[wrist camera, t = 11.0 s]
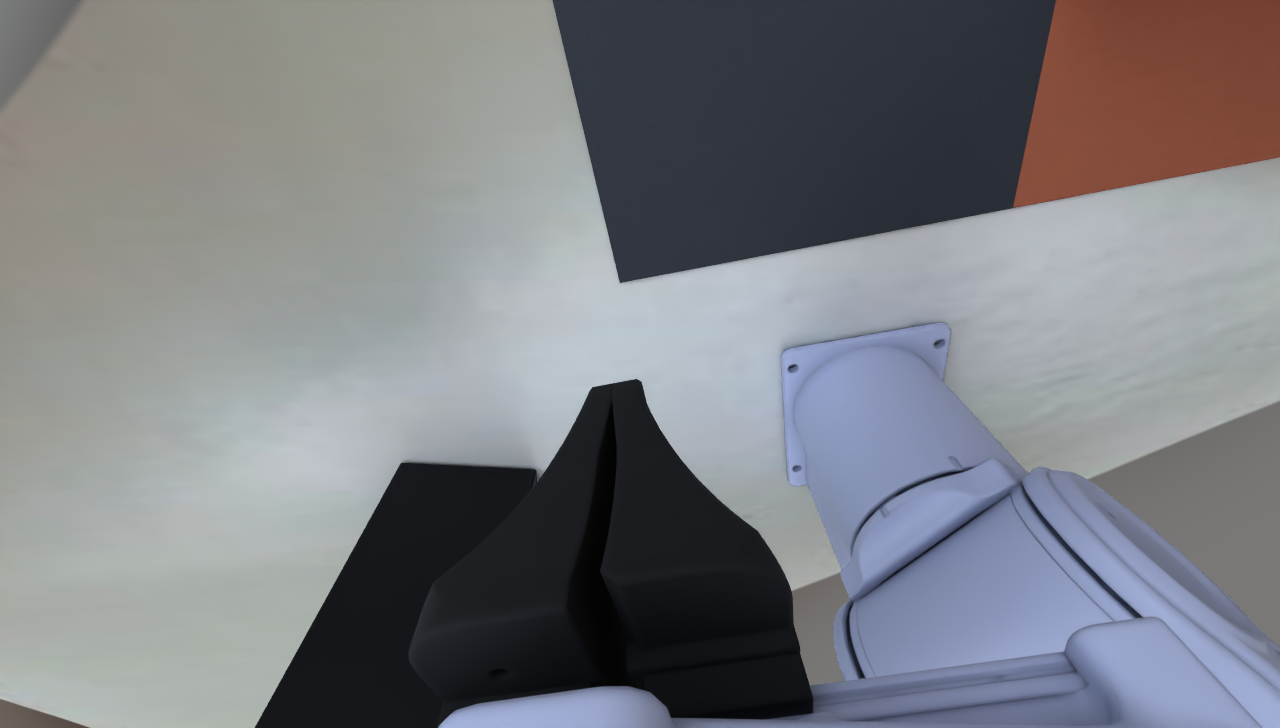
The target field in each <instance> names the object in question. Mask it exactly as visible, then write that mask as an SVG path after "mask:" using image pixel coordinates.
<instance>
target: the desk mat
mask: <svg viewBox="0 0 1280 728" xmlns="http://www.w3.org/2000/svg"><path fill="white" fill-rule="evenodd" d="M553 3H554V8H555V12H556V16H557V20H558V24H559V29H560V33H561V37H562V41H563V45H564V50H565V54H566V58H567V62H568V66H569V71H570V75H571V79H572V83H573V88H574V92H575V96H576V100H577V104H578V109H579V113H580V117H581V121H582V125H583V130H584V134H585V138H586V142H587V146H588V151H589V155H590V159H591V163H592V167H593V172H594V176H595V180H596V184H597V188H598V193H599V197H600V201H601V205H602V209H603V214H604V218H605V222H606V226H607V230H608V235H609V239H610V243H611V247H612V251H613V256H614V260H615V264H616V268H617V272H618V277H619V281H620V283H622V282H627V281H632V280H638V279H643V278H648V277H653V276H659V275H664V274H669V273H674V272H680V271H685V270H690V269H695V268H701V267H706V266H711V265H716V264H722V263H727V262H732V261H737V260H743V259H748V258H753V257H758V256H764V255H769V254H774V253H779V252H785V251H790V250H795V249H800V248H806V247H811V246H816V245H821V244H827V243H832V242H837V241H842V240H848V239H853V238H858V237H863V236H869V235H874V234H879V233H884V232H890V231H895V230H900V229H905V228H911V227H916V226H921V225H926V224H932V223H937V222H942V221H947V220H953V219H958V218H963V217H968V216H974V215H979V214H984V213H989V212H995V211H1000V210H1005V209H1010V208H1016V207H1021V206H1026V205H1031V204H1037V203H1042V202H1047V201H1052V200H1058V199H1063V198H1068V197H1073V196H1079V195H1084V194H1089V193H1094V192H1100V191H1105V190H1110V189H1115V188H1121V187H1126V186H1131V185H1136V184H1142V183H1147V182H1152V181H1157V180H1163V179H1168V178H1173V177H1178V176H1184V175H1189V174H1194V173H1199V172H1205V171H1210V170H1215V169H1220V168H1226V167H1231V166H1236V165H1241V164H1247V163H1252V162H1257V161H1262V160H1268V159H1273V158H1278V157H1280V0H553Z"/></svg>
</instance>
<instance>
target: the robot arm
mask: <svg viewBox="0 0 1280 728" xmlns="http://www.w3.org/2000/svg"><path fill="white" fill-rule="evenodd" d="M950 337H951V329H950V328H949V327H948V326H947V325H946V324H944V323H934V324H928V325H923V326H917V327H911V328H905V329H899V330H894V331H888V332H882V333H876V334H870V335H864V336H859V337H853V338H847V339H841V340H835V341H829V342H824V343H818V344H812V345H806V346H800V347H795V348H790V349H787V350H785V351H784V352H783V354H782V355H781V369H782V388H783V407H784V426H785V445H786V464H787V479H788V481H789V484H790V485H792V486H803V485H808V487H809V490H810V492H811V495H812V497H813V500H814V502H815V505H816V507H817V510H818V513H819V515H820V518H821V520H822V523H823V525H824V528H825V530H826V533H827V535H828V538H829V540H830V543H831V545H832V548H833V550H834V553H835V555H836V558H837V560H838V563H839V565H840V567H841V569H842V570H841V572H840V575H841V578H842V580H843V583H844V586H845V588H846V591H847V593H848V596H849V598H850V601H848V602H846V603H845V604H843V605H842V606H841V607H840V609H839V610H838V612H837V614H836V616H835V619H834V625H833V639H834V645H835V651H836V656H837V659H838V664H839V668H840V671H841V675H842V678H843V681H841V682H834V683H826V684H819V685H812V686H810V685H809V682H808V679H807V675H806V672H805V668H804V665H803V662H802V658H801V655H800V645H799V642H798V638H797V635H796V632H795V628H794V624H793V597H792V592H791V588H790V585H789V583H788V581H787V578H786V576H785V574H784V572H783V570H782V568H781V566H780V565H779V563H778V561H777V559H776V558H775V556H774V555H773V553H772V551H771V550H770V548H769V547H768V545H767V544H766V542H765V541H764V539H763V538H762V537H761V535H760V534H759V532H758V531H757V530H756V529H754V528H753V527H752V526H750V525H749V524H748V523H746V522H745V521H744V520H742V519H741V518H740V517H739V516H737V515H736V514H735V513H733V512H732V511H731V510H730V509H729V508H728V507H726V506H725V505H724V504H723V503H722V502H721V501H720V500H718V499H717V498H716V497H715V496H714V495H713V494H712V493H711V492H710V491H709V490H708V489H707V488H706V487H705V486H704V485H703V484H702V483H701V482H700V481H699V480H698V479H697V478H696V476H695V475H694V474H693V473H692V472H691V471H690V470H689V469H688V467H687V466H686V465H685V464H684V462H683V461H682V460H681V459H680V458H679V456H678V455H677V454H676V452H675V451H674V449H673V448H672V447H671V445H670V444H669V442H668V441H667V439H666V438H665V436H664V435H663V433H662V431H661V430H660V428H659V426H658V425H657V423H656V421H655V419H654V417H653V416H652V414H651V412H650V410H649V407H648V405H647V403H646V398H645V394H644V390H643V386H642V382H641V381H639V380H637V379H635V380H629V381H624V382H618V383H613V384H608V385H602V386H597V387H592V389H591V390H590V391H589V394H588V396H587V398H586V400H585V402H584V405H583V407H582V409H581V411H580V413H579V415H578V417H577V419H576V421H575V423H574V425H573V426H572V428H571V430H570V432H569V434H568V435H567V437H566V439H565V441H564V443H563V444H562V446H561V447H560V449H559V451H558V452H557V454H556V455H555V457H554V459H553V460H552V462H551V463H550V465H549V466H548V468H547V469H546V471H545V472H544V474H543V475H542V476H541V478H540V479H539V480H538V482H537V483H536V484H535V486H534V487H533V488H532V490H531V491H530V492H529V493H528V495H527V496H526V497H525V498H524V499H523V500H522V502H521V503H520V504H519V505H518V506H517V507H516V508H515V509H514V510H513V512H512V513H511V514H510V515H509V516H508V517H507V518H506V519H505V520H504V521H503V522H502V523H501V524H500V525H499V526H498V527H497V528H496V529H495V530H494V531H493V532H492V533H491V534H490V535H489V536H488V537H487V538H486V539H485V540H484V541H482V542H481V543H480V544H479V545H478V546H477V547H476V548H475V549H474V550H472V551H471V552H470V553H469V554H468V555H467V556H465V557H464V558H463V559H462V560H460V561H459V562H458V563H457V564H455V565H454V566H453V567H452V568H450V569H449V570H448V571H447V572H446V573H444V574H443V575H442V576H440V577H439V578H438V579H437V580H435V581H434V582H433V584H432V587H431V589H430V591H429V594H428V596H427V598H426V601H425V603H424V606H423V609H422V612H421V615H420V618H419V621H418V624H417V627H416V630H415V633H414V636H413V639H412V642H411V645H410V648H409V651H408V654H409V662H410V663H411V665H412V666H413V668H414V669H415V671H416V672H417V674H418V675H419V676H420V677H421V678H422V679H423V680H424V681H425V682H426V684H427V685H428V686H429V687H430V688H431V689H432V690H433V691H434V692H435V693H436V694H437V695H438V696H439V697H440V698H441V699H442V700H443V704H442V708H441V712H440V716H439V720H438V724H437V728H1280V646H1278V645H1277V644H1276V643H1275V642H1274V641H1273V640H1272V639H1270V638H1269V637H1268V636H1267V635H1266V634H1265V633H1263V632H1262V631H1261V630H1260V629H1259V628H1258V627H1257V626H1255V625H1254V623H1253V622H1252V621H1251V620H1250V619H1249V618H1248V617H1247V615H1245V613H1244V612H1243V611H1242V610H1241V609H1240V608H1239V607H1238V606H1237V605H1236V604H1235V603H1234V602H1233V601H1232V600H1231V599H1230V598H1229V597H1228V596H1227V595H1226V594H1225V593H1224V592H1223V591H1222V590H1221V589H1220V588H1219V587H1218V586H1217V585H1216V584H1215V583H1214V582H1213V581H1212V580H1211V579H1209V578H1208V577H1207V576H1206V575H1205V574H1204V573H1203V572H1202V571H1201V570H1200V569H1199V568H1198V567H1196V566H1195V565H1194V564H1193V563H1192V562H1191V561H1190V560H1189V559H1187V558H1186V557H1185V556H1184V555H1183V554H1182V553H1181V552H1180V551H1178V550H1177V549H1176V548H1175V547H1174V546H1173V545H1171V544H1170V543H1169V542H1168V541H1167V540H1166V539H1164V538H1163V537H1162V536H1161V535H1160V534H1158V533H1157V532H1156V531H1155V530H1154V529H1152V528H1151V527H1150V526H1149V525H1148V524H1147V523H1145V522H1144V521H1143V520H1142V519H1140V518H1139V517H1138V516H1137V515H1135V514H1134V513H1133V512H1132V511H1130V510H1129V509H1128V508H1126V507H1125V506H1124V505H1122V504H1121V503H1120V502H1119V501H1117V500H1116V499H1115V498H1113V497H1112V496H1111V495H1109V494H1108V493H1106V492H1105V491H1104V490H1102V489H1101V488H1099V487H1098V486H1096V485H1095V484H1093V483H1092V482H1090V481H1089V480H1087V479H1085V478H1084V477H1082V476H1080V475H1078V474H1076V473H1073V472H1068V471H1058V470H1051V469H1048V468H1045V467H1037V468H1035V469H1033V470H1032V471H1031V472H1030V473H1029V474H1028V473H1027V472H1026V471H1025V470H1024V468H1023V467H1022V466H1021V465H1020V464H1019V463H1018V462H1017V461H1016V460H1015V459H1014V458H1013V457H1012V455H1011V454H1010V453H1009V452H1008V451H1007V450H1006V449H1005V448H1004V447H1003V446H1002V445H1001V443H1000V442H999V441H998V440H997V439H996V438H995V437H994V436H993V435H992V434H991V433H990V432H989V430H988V429H987V428H986V427H985V426H984V425H983V424H982V423H981V422H980V421H979V420H978V418H977V417H976V416H975V415H974V414H973V413H972V412H971V411H970V410H969V409H968V408H967V407H966V405H965V404H964V403H963V402H962V401H961V400H960V399H959V398H958V397H957V396H956V395H955V394H954V392H953V391H952V390H951V389H950V388H949V387H948V386H947V385H946V384H945V383H944V382H943V380H944V374H945V368H946V362H947V355H948V349H949V343H950ZM940 339H941V340H940ZM937 340H940V342H939V343H938V344H935V345H934V343H935V342H936V341H937ZM792 364H796V366H795V367H794V368H792V369H788V367H789V366H790V365H792ZM796 465H798V466H797V467H794V466H796Z"/></svg>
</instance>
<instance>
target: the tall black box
mask: <svg viewBox="0 0 1280 728" xmlns="http://www.w3.org/2000/svg"><path fill="white" fill-rule="evenodd" d="M536 483H537V472H536V470H531V469H512V468H492V467H472V466H452V465H432V464H413V463H401V464H400V466H399V467H398V469H397V471H396V473H395V475H394V476H393V478H392V480H391V482H390V484H389V486H388V487H387V489H386V491H385V493H384V495H383V496H382V498H381V500H380V502H379V504H378V505H377V507H376V509H375V511H374V513H373V515H372V516H371V518H370V520H369V522H368V524H367V525H366V527H365V529H364V531H363V533H362V534H361V536H360V538H359V540H358V542H357V544H356V545H355V547H354V549H353V551H352V553H351V554H350V556H349V558H348V560H347V562H346V563H345V565H344V567H343V569H342V571H341V573H340V574H339V576H338V578H337V580H336V582H335V583H334V585H333V587H332V589H331V591H330V592H329V594H328V596H327V598H326V600H325V602H324V603H323V605H322V607H321V609H320V611H319V612H318V614H317V616H316V618H315V620H314V621H313V623H312V625H311V627H310V629H309V631H308V632H307V634H306V636H305V638H304V640H303V641H302V643H301V645H300V647H299V649H298V650H297V652H296V654H295V656H294V658H293V660H292V661H291V663H290V665H289V667H288V669H287V670H286V672H285V674H284V676H283V678H282V679H281V681H280V683H279V685H278V687H277V688H276V690H275V692H274V694H273V696H272V698H271V699H270V701H269V703H268V705H267V707H266V708H265V710H264V712H263V714H262V716H261V717H260V719H259V721H258V723H257V725H256V727H255V728H437V724H438V720H439V716H440V712H441V708H442V704H443V700H442V699H441V698H440V697H439V696H438V695H437V694H436V693H435V692H434V691H433V690H432V689H431V688H430V687H429V686H428V685H427V684H426V682H425V681H424V680H423V679H422V678H421V677H420V676H419V675H418V674H417V672H416V671H415V669H414V668H413V666H412V665H411V663H410V662H409V654H408V651H409V648H410V645H411V642H412V639H413V636H414V633H415V630H416V627H417V624H418V621H419V618H420V615H421V612H422V609H423V606H424V603H425V601H426V598H427V596H428V594H429V591H430V589H431V587H432V584H433V582H434V581H435V580H437V579H438V578H439V577H440V576H442V575H443V574H444V573H446V572H447V571H448V570H449V569H450V568H452V567H453V566H454V565H455V564H457V563H458V562H459V561H460V560H462V559H463V558H464V557H465V556H467V555H468V554H469V553H470V552H471V551H472V550H474V549H475V548H476V547H477V546H478V545H479V544H480V543H481V542H482V541H484V540H485V539H486V538H487V537H488V536H489V535H490V534H491V533H492V532H493V531H494V530H495V529H496V528H497V527H498V526H499V525H500V524H501V523H502V522H503V521H504V520H505V519H506V518H507V517H508V516H509V515H510V514H511V513H512V512H513V510H514V509H515V508H516V507H517V506H518V505H519V504H520V503H521V502H522V500H523V499H524V498H525V497H526V496H527V495H528V493H529V492H530V491H531V490H532V488H533V487H534V486H535V484H536Z"/></svg>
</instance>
